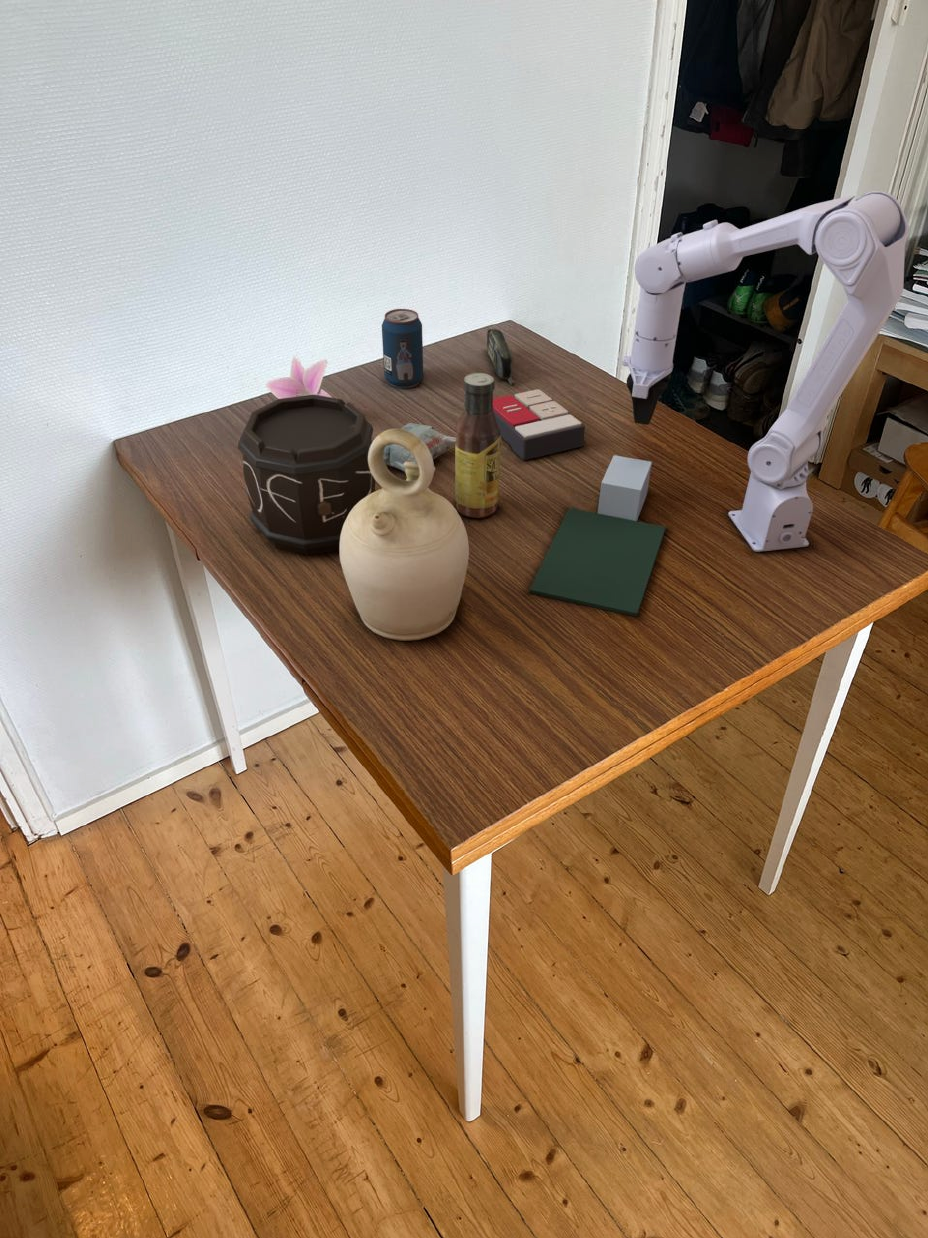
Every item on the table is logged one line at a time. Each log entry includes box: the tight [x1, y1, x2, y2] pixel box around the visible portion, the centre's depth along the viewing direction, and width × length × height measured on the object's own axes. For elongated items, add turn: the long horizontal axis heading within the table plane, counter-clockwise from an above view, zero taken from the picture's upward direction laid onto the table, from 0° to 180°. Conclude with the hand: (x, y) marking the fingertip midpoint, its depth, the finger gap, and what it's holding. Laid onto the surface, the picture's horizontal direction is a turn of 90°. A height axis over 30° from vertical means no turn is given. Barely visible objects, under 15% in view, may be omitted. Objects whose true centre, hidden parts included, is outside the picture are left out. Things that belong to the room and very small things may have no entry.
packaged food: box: [383, 422, 456, 473], centre depth 141 cm, size 9×12×5 cm
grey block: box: [597, 454, 653, 521], centre depth 132 cm, size 8×6×6 cm
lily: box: [265, 356, 333, 400], centre depth 152 cm, size 12×12×10 cm
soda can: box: [381, 308, 424, 389], centre depth 160 cm, size 7×7×12 cm
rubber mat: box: [528, 507, 667, 617], centre depth 124 cm, size 20×14×1 cm
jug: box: [339, 428, 470, 642], centre depth 108 cm, size 15×16×25 cm
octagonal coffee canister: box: [237, 395, 376, 556], centre depth 125 cm, size 18×18×16 cm
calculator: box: [493, 388, 586, 461], centre depth 149 cm, size 11×4×15 cm
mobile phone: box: [486, 328, 515, 386], centre depth 167 cm, size 5×3×15 cm
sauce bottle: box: [454, 372, 502, 519], centre depth 127 cm, size 6×6×20 cm
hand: (642, 421), depth 135 cm, fingers closed
